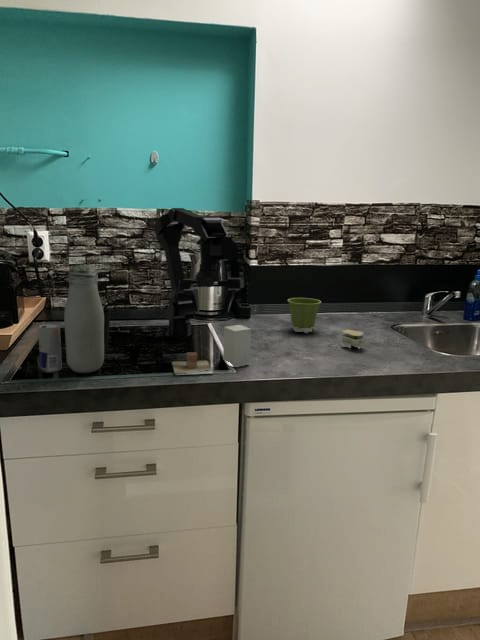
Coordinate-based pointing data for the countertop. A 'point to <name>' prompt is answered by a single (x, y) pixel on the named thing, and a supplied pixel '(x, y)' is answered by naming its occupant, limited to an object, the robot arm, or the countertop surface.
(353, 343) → the stacked layers on plate
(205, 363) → the beige board with block
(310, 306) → the plant pot
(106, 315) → the cup
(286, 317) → the countertop surface
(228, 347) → the tall pale rectangular prism
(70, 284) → the glass bottle
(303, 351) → the countertop surface
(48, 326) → the energy drink
